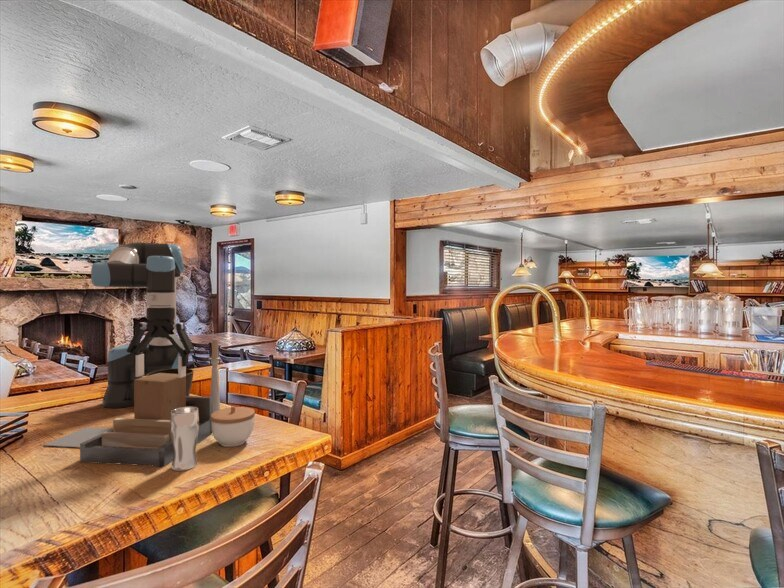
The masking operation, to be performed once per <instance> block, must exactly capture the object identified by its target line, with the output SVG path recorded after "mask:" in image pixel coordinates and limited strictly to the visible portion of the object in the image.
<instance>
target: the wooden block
mask: <svg viewBox="0 0 784 588" xmlns="http://www.w3.org/2000/svg"><path fill="white" fill-rule="evenodd" d="M133 407H134V410H133V413H134V416H133V419H151V420H170V415H171V411H172V410H173V409H176V408H180V407H186V376H185V377H182V378H178V374H170V373H157V374H153V375H150V376H147V375H145V376H142V378H139V379H135V381H134V406H133Z"/></svg>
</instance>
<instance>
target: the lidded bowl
mask: <svg viewBox="0 0 784 588" xmlns="http://www.w3.org/2000/svg"><path fill="white" fill-rule="evenodd" d="M255 412H256V411H255V409H253V408H251V407H247V406H235V405H232V406H230V407H226V408H222V409H221V408H220V410H218V411H215V412H213V413H212V414H211V429H212V436H213V438H214V439H215V440H216V442H218V443H219V444H220V446H222V447H226V448H233V447H237V446H238V447H239V446H241V445H243V444H245V443H246V440H248V438H250V436H251V434H252V433H253V429H254V425H255V415H256V413H255Z"/></svg>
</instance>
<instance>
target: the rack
mask: <svg viewBox="0 0 784 588" xmlns="http://www.w3.org/2000/svg"><path fill="white" fill-rule="evenodd" d="M188 406H192V407H197V408H198V414H199V432H198V438H197V443H196V445H198V444H199V443H201V442H202V441H203V440H205V439H207V438H208V437H210V436H211V435H213V433H212V429H211V414H212V397H210V396H203V395H202V396H201V395H200V396H199V395H198V396H197V395H196V396H195V395H189V396H186V407H188ZM107 432H113V428H112V429H111V430H109V431H107ZM79 462H80V463H88V462H97V463H96V464H107V463H121V464H120V465H125V464H137V465H136V466H144V465H151V466H150V467H162V466H164V467H166V466H167V465H169V464H170V463H172V462H173V448H172V443H171V441H169V442H167V443H166V444H164V445H163V446H161V447H159V449H150V448H130V447H110V446H102V434H100V435H98V436H96V437H94V438H92V439H89V440H87V441H85V442H83V443H81V444H80V448H79ZM98 462H99V463H98ZM152 465H153V466H152Z"/></svg>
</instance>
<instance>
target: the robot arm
mask: <svg viewBox="0 0 784 588" xmlns="http://www.w3.org/2000/svg"><path fill="white" fill-rule="evenodd" d="M183 259H184V258H183V252H182V248H181V247H180V245H177V244H174V243H161V242H159V243H154V242H129V243H126V244H122V245H119V246H117V247H116V248H114V249H113V250H111V252H110V253H109V256H108V261H107V262H104V261H102V262H94V263H92V265H91V270H90V271H91V272H90V278H91V279H90V280H91V283H92V286H95V287H97V288H146V306H147V308H146V320H147V322H146V321H143V322H141V321H140V322H137V324H136V329H135V331H134V334H133V337H132V338H131V341H130V342H129V344H128V343H127V344H123V345H117V346H115V347H112V348H110V349H109V350H108V352H107V359H106V362H107V387H106V389H105V393H104V396H103V398H102V404H101V406H102V408H107V409H120V408H121V409H122V408H130V407H134V381H135V379H139V378H142V377H144V376H147V374H149V373H151V372H155V371H159V370H166V369H178V378H182V377H185V376H186V369H187V367H188V365H189V355H191V354H194V353H195V352H196V350H195V348H194V345H193V343H192V341H191V339H190V337H189V335H188V333H187V331H186V326H185V323H184V322H178V323H177V281H178V280H179V279H180V278H181V274H183V273H185V267H184V266H185V265H184V260H183ZM146 330H148V331H147V332H146ZM145 333H146V334H145ZM144 334H145V335H144ZM177 335H178V336H177ZM143 336H144V337H143Z"/></svg>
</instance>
